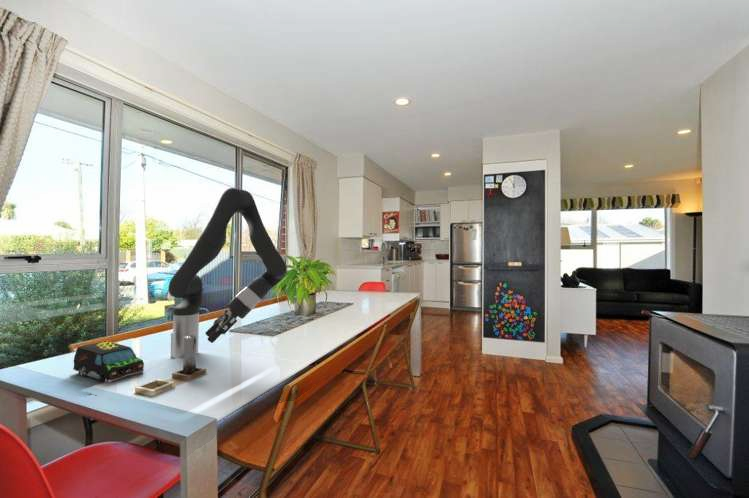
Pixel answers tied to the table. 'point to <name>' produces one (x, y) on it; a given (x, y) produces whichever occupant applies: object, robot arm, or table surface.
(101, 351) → the toy van
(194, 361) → the grey tall bar
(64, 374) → the table surface
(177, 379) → the wooden trays
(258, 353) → the table surface
